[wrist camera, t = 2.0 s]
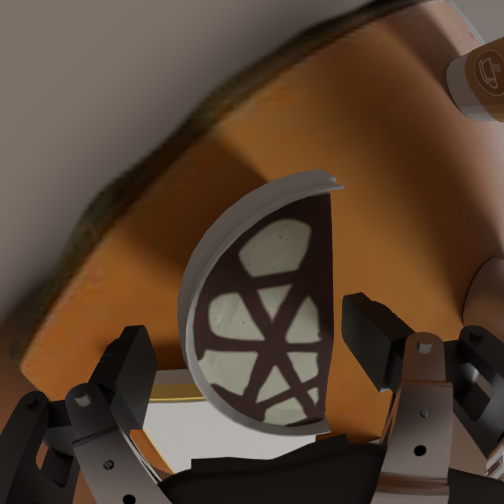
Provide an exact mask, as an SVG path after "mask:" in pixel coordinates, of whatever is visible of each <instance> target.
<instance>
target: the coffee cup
mask: <svg viewBox="0 0 504 504" xmlns="http://www.w3.org/2000/svg"><path fill="white" fill-rule="evenodd" d="M446 80H447V85H448V88H449V92H450V94H451V96H452V98H453V100H454V102H455V104H456V105H457V107H458V108H459V109H460V111H461V112H462V113H463V114H465V115H466V116H467V117H469V118H471V119H473V120H475V121H499V122H504V37H502V38H500V39H497V40H495V41H493V42H490V43H488V44H485V45H483V46H481V47H479V48H476V49H474V50H472V51H471V52H469V53H467V54H465V55H463V56H461V57H459V58H456V59H454V60H453V61H452V62H451V63H450V65H449V66H448V68H447V71H446Z"/></svg>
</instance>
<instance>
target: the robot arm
mask: <svg viewBox="0 0 504 504" xmlns="http://www.w3.org/2000/svg"><path fill="white" fill-rule="evenodd" d="M463 322H464V326H465V327H464V328H462V330H461V332H460V335H459V338H458V340H453V341H446V342H443V341H442V340H441V339H440V338H439V337H438V336H437V335H435V334H432V333H428V332H417V333H416V332H415V331H413V330H412V329H411V328H410V327H409V326H408V325H407V324H406V323H405V322H403V321H402V320H401V319H400V318H398V316H397V315H396V314H394V313H392V311H391V310H390V309H389V308H388V307H386V306H385V305H383V304H381V303H379V302H376V301H371V300H370V299H369V298H368V297H367V296H366V295H365V294H364V293H362V292H359V293H355V294H350V295H345V296H344V297H343V302H342V326H341V331H342V337H343V340H344V342H345V343H346V345H347V346H348V348H349V349H350V351H351V352H352V353H353V355H354V356H355V358H356V359H357V361H358V362H359V364H360V365H361V366H362V368H363V369H364V371H365V372H366V374H367V375H368V377H369V378H370V379H371V381H372V382H373V384H374V385H375V387H376V388H377V390H378V391H379V393H381V392H384V391H386V390H389V389H391V390H392V392H393V393H392V397H391V401H390V405H389V409H388V413H387V417H386V421H385V425H384V429H383V432H382V435H381V439H380V441H379V444H377V443H371V442H349V441H348V439H347V437H346V435H345V434H342V435H338V436H335V437H331V438H328V439H324V440H321V441H317V442H313V443H309V444H307V445H304V446H302V447H300V448H298V449H295V450H293V451H291V452H288V453H286V454H284V455H281V456H279V457H276V458H273V459H250V458H238V457H217V458H197V459H191V469H187V470H184V471H180V472H178V473H175V474H173V475H171V476H169V477H167V478H165V479H163V480H161V479H160V478H159V477H158V475H157V474H156V473H155V472H154V470H153V469H152V467H151V466H150V465H149V463H148V462H147V461H146V459H145V458H144V456H143V455H142V453H141V452H140V450H139V449H138V447H137V446H136V444H135V443H134V441H133V440H132V438H131V437H130V436H129V435H130V431H131V429H137V430H142V429H143V424H144V420H145V416H146V412H147V407H148V403H149V399H150V395H151V391H152V387H153V384H154V380H155V376H156V372H157V359H156V355H155V353H154V350H153V347H152V344H151V341H150V338H149V335H148V332H147V330H146V328H145V326H144V325H135V326H126V327H125V328H124V330H123V332H122V334H121V335H120V337H119V339H115V340H114V341H113V342H112V343H110V344H109V345H108V346H107V348H106V350H105V352H104V353H103V355H102V357H101V359H100V362H99V363H98V364H97V366H96V368H95V370H94V372H93V374H92V376H91V377H90V379H89V381H88V383H82V384H79V385H77V386H75V387H73V388H72V389H71V390H70V391H69V392H68V393H67V395H66V397H65V400H59V401H53V402H50V401H49V400H48V398H47V397H46V395H45V394H44V393H43V392H41V391H32V392H29V393H27V394H26V395H24V396H23V397H22V398H21V399H20V401H19V402H18V404H17V406H16V407H15V409H14V411H13V413H12V414H11V416H10V418H9V420H8V422H7V424H6V426H5V427H4V429H3V431H2V433H1V435H0V504H72V503H73V498H74V493H75V488H76V484H77V479H78V475H79V471H80V467H81V470H82V472H83V475H84V477H85V479H86V481H87V484H88V486H89V488H90V490H91V492H92V494H93V496H94V498H95V500H96V502H97V504H504V260H503V259H501V258H498V257H494V258H491V259H490V260H488V261H487V262H486V263H485V264H484V265H483V266H482V267H481V269H480V270H479V272H478V273H477V275H476V277H475V278H474V280H473V282H472V284H471V286H470V289H469V291H468V294H467V297H466V301H465V304H464V310H463ZM479 373H480V374H481V375H482V376H483V377H484V378H485V379H486V380H487V381H488V382H489V383H490V385H491V386H492V389H493V395H492V398H491V399H490V398H489V397H488V396H487V394H486V393H485V392H484V391H483V390H482V389H481V388H480V387H479V386H478V384H477V383H476V382H475V381H476V379H477V377H478V375H479ZM453 412H454V414H455V415H456V416H457V417H458V419H459V420H460V422H461V423H462V424H463V426H464V427H465V429H466V430H467V431H468V433H469V434H470V436H471V437H472V439H473V440H474V441H475V443H476V444H477V446H478V447H479V449H480V450H481V452H482V453H483V455H484V456H485V458H486V459H487V464H486V467H487V470H486V472H485V474H484V476H481V475H476V474H472V473H468V472H464V471H459V470H456V469H453V468H449V460H450V451H451V440H452V422H453ZM41 442H43V443H44V444H45V445H46V446H47V447H48V451H47V453H46V456H45V459H44V462H43V465H42V468H41V470H40V469H39V468H38V466H37V464H36V455H37V452H38V450H39V447H40V445H41Z"/></svg>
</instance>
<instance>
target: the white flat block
mask: <svg viewBox="0 0 504 504" xmlns="http://www.w3.org/2000/svg"><path fill="white" fill-rule="evenodd" d="M143 431H144V432H145V434H146V435H147V437H148V438H149V440H150V441H151V443H152V444H153V446H154V447H155V449H156V450H157V451H158V453H159V454H160V456H161V457H162V458H163V460H164V461H165V462H166V464H167V465H168V466H169V468H170V469H171V470H172V472H173V473H174V474H175V473H178V472H180V471H184V470H187V469H191V459H197V458H217V457H238V458H250V459H273V458H276V457H279V456H281V455H284V454H286V453H288V452H291V451H293V450H295V449H298V448H300V447H302V446H304V445H307V444H309V443H313V442H315V436H316V435H313V436H303V437H282V436H274V435H268V434H263V433H260V432H256V431H253V430H250V429H247V428H245V427H243V426H240V425H238V424H236V423H234V422H232V421H231V420H229V419H228V418H226V417H225V416H223V415H222V414H221V413H219V412H218V411H217V410H216V409H215V408H214V407H213V406H212V405H211V404H210V403H209V402H208V401H207V400H206V399H205V397H204V396H203V394H202V393H201V392H200V390H199V389H198V387H197V386H196V383H195V382H194V380H193V378H192V377H191V375H190V373H189V371H188V369H179V370H161V371H157V372H156V376H155V380H154V384H153V387H152V391H151V395H150V399H149V403H148V407H147V412H146V416H145V420H144V424H143Z"/></svg>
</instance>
